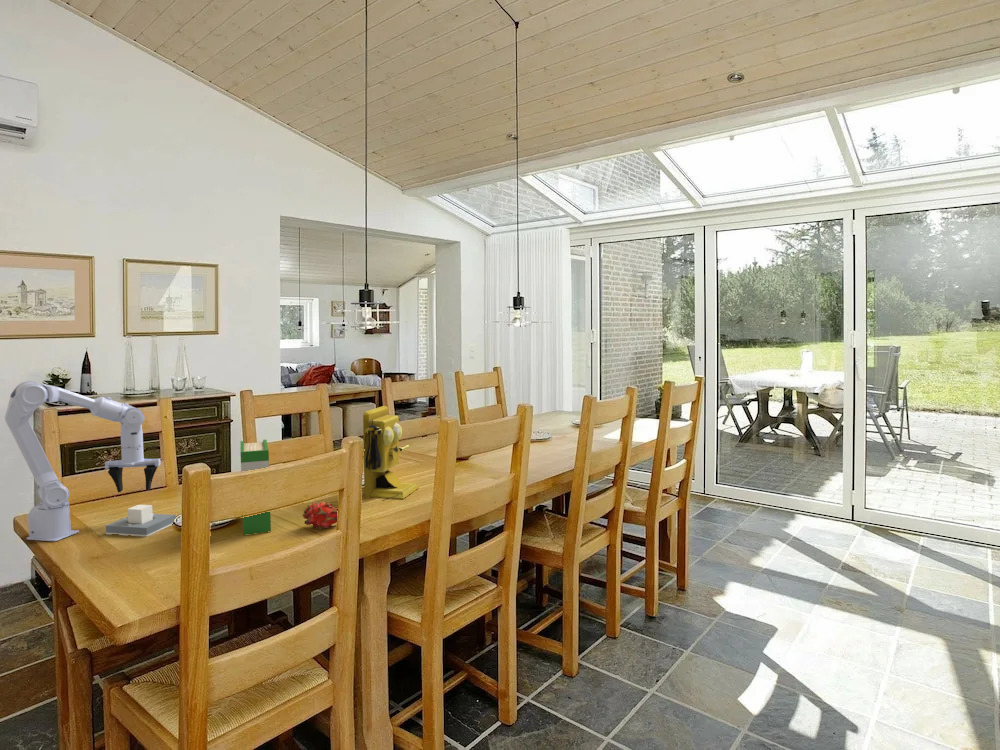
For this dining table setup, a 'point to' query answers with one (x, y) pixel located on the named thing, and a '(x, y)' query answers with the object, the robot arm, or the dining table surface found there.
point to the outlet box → (140, 526)
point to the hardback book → (251, 460)
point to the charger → (140, 514)
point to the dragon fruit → (321, 515)
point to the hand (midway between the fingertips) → (134, 490)
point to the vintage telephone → (383, 455)
